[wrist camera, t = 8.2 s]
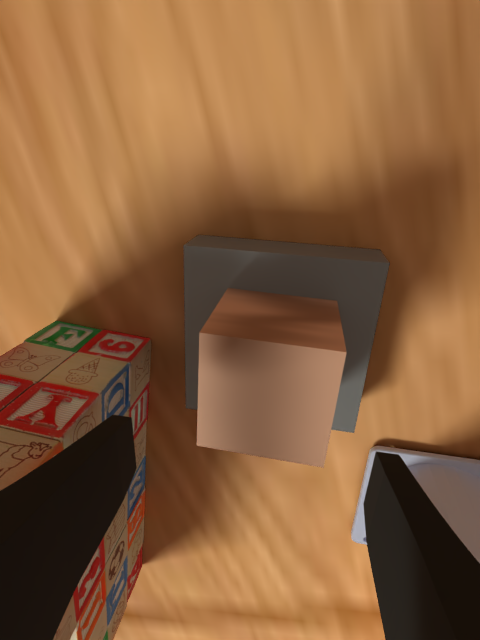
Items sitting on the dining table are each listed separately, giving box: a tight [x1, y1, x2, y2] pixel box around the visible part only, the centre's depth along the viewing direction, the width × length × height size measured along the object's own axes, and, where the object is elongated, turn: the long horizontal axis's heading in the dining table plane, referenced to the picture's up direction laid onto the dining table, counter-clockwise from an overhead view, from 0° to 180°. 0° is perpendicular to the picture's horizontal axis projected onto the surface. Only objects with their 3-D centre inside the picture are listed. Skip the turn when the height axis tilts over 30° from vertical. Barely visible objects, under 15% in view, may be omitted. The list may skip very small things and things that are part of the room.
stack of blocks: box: [0, 321, 151, 640], centre depth 22 cm, size 21×6×12 cm, turn 173°
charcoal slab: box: [184, 235, 390, 433], centre depth 20 cm, size 9×9×3 cm
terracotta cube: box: [197, 288, 347, 468], centre depth 16 cm, size 5×5×5 cm
